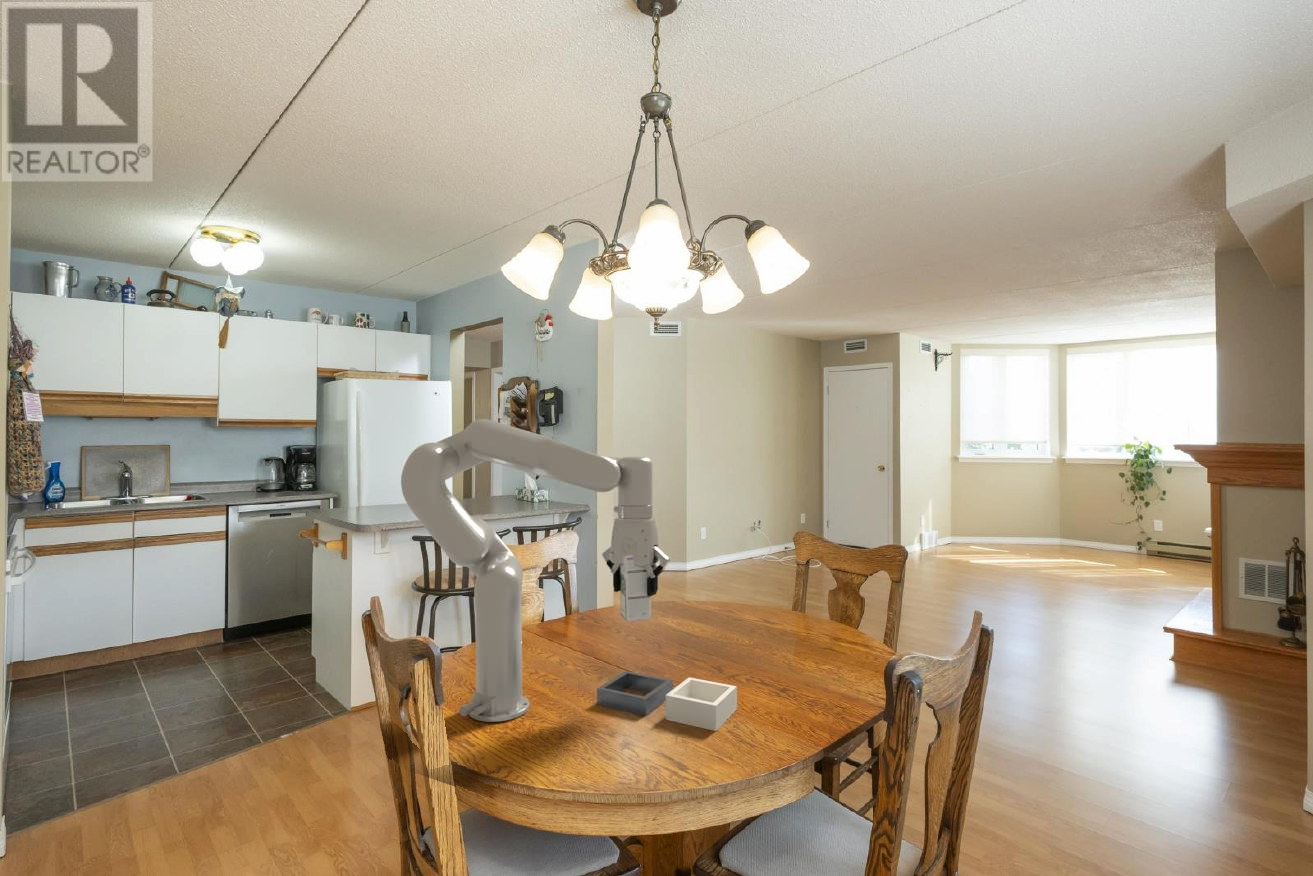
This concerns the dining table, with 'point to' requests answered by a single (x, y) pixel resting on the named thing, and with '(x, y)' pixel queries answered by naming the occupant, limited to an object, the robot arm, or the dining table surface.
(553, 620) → the dining table surface
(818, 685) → the dining table surface
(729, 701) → the cradle
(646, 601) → the syrup box
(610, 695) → the gray square frame
